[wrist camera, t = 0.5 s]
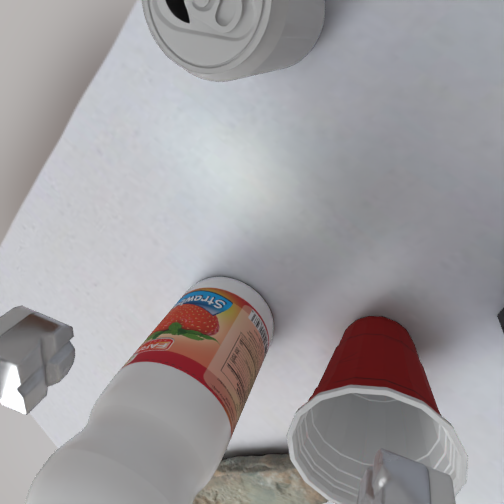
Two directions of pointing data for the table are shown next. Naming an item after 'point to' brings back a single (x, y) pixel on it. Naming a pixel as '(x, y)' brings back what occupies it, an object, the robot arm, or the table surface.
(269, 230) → the table surface
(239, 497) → the long grey stone
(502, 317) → the kitchen scale
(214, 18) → the beverage can
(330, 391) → the plastic cup
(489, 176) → the table surface
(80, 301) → the table surface
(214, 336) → the fruit juice
